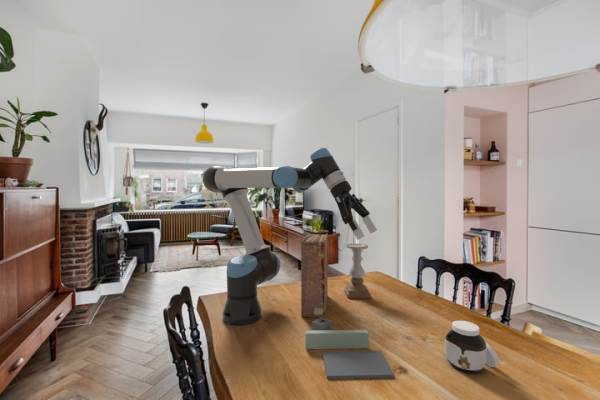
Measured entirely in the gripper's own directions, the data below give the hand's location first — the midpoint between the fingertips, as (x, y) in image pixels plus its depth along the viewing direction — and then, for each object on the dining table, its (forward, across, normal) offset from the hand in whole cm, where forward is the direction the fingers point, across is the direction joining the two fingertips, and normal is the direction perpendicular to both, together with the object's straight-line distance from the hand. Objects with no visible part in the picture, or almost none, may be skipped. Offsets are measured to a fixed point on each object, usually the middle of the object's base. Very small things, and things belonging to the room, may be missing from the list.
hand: (368, 234), depth 107 cm
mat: (+30, -25, +14) cm, 42 cm away
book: (+15, +9, +41) cm, 45 cm away
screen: (+26, -18, +22) cm, 38 cm away
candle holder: (+21, +31, +33) cm, 50 cm away
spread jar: (+46, -7, -9) cm, 48 cm away
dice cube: (+22, -14, +28) cm, 39 cm away
